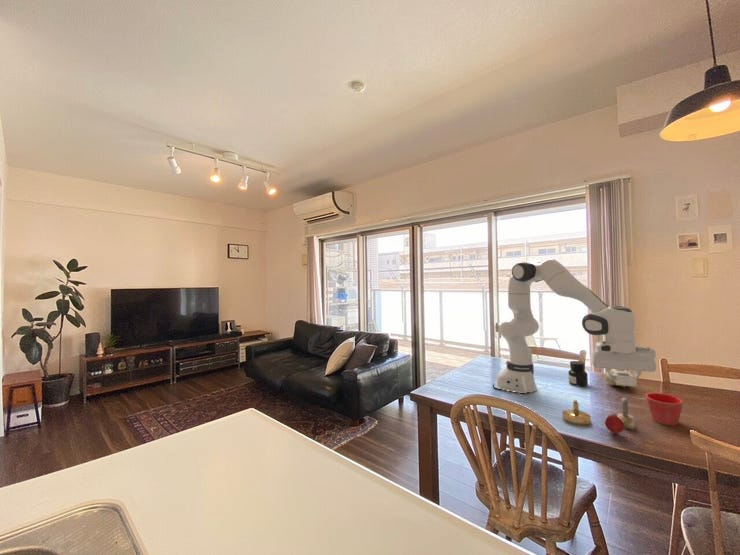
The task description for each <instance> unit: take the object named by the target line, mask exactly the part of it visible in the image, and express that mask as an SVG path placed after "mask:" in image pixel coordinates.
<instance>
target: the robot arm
mask: <svg viewBox="0 0 740 555" xmlns="http://www.w3.org/2000/svg"><path fill="white" fill-rule="evenodd" d="M511 268H512V269H511V275H510V276H509V280H508V287H507V293H508V294H507V300H508V301H507V303H508V304H507V305H508V308H509V310H511V311H512V313H513V318H510V319H507V320H505V321H503V322H501V323H500V325H499V333H500V335H501V337H503V339H504V340H505V341H506V343H507V345H508V349H509V360H508V359H507V360H506V361H505V364H506V368H505V369H503V370H501V371H500V372H498V374H497V376H496V380H497V382H495V383H496V387H498V388H500V389H504V390H509V391H515V392H519V393H518V394H520V393H525V394H528V393H527V392H529V393H534V392H536V391H538V387H537V385H536V380H535V377H534V376H535V373H534V372H535V367H534V363H533V353H532V352H533V351H532V348H531V347H530V346H529V345H528V344H527V341H526V337H530V336H533V335H534V334H536V333H537V332H538V331H539V329H540V324H539V322H538V321H537V319H536V318H534V315H533V311H532V308H531V285H532V283H534V282H535V283H538V282H541V281H544V282H545V283H546V285H547V286H548V287H549V288H550V290H551V291H552V292H554V294H556V295H557V296H560V297H566V298H571V299H574V300H577V301H578V302H581V303H582V304H583V305H584V306H586V307H587V308H588V309H589V311H591V313H588V314H586V315H584V316H583V317H582V319H581V325H582V329H583V330H584V331H585V332H586V333H587V334H589V335H590V336H591V335H593V336H602V335H603V336H607V340H603V341H598V342H597V341H596V342H595V343H594V348H595V349H594V350H593V351H592V355H591V364H592V366H593V367H594V368H597V369H605V371H606V373H607V372H608V374H609V378H610V379H612V380H615V376H614V374H611V373H610V372H609V371H611V369H621V370H624V371H635V374H634V375H633V376H634V377H635V378H636V383H638V382H639V378H640V376H641V375H642V372H651V373H655V371H657V364H656V359H655V358H656V351H655V350H654V349H653V348H651V347H644V346H643V347H642V346H637V340H636V339H637V338H636V337H635V331H636V322H635V321H636V320H635V317H634V316H635V315H634V313H633V310H631V309H630V308H628V307H627V306H621V305H609V306H608V305H607V304H606V303H605V302H604V300H602V299H601V298H599V297H598V296H597V294H596V293H595V292H593V291H592V290H591V289H590V288H588V287H587V286H586V285H584V284H583V283H582V282H580V281H579V280H578V279H577V278H576V277H575V276H574V275H573V274H572V273H571V272H570V271H569V269H567V268H566V266H564V265H563V264H562V263H561V262H559V261H558V260H556V259H554V258H548V259H544V260H533V259H532V260H526V261H519V262H516V263H515V264H513V266H512V267H511ZM509 391H508V392H509ZM533 391H534V392H533Z"/></svg>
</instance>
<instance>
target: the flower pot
mask: <svg viewBox="0 0 740 555" xmlns="http://www.w3.org/2000/svg"><path fill="white" fill-rule="evenodd" d="M645 398H646V402H647V406H648V409H649V412H650V415H651V418H652V420H653V421H654V422H656V423H659V424H661V425H662V424H663V425H666V426H677V425H678V424H679V422H680V417H681V413H682V408H683V403H684V402H683V400H682V399H680V398H679V397H676V396H674V395H672V394H671V395H670V394H666V393H659V392H649V393H646V394H645Z"/></svg>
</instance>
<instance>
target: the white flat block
mask: <svg viewBox="0 0 740 555" xmlns="http://www.w3.org/2000/svg"><path fill="white" fill-rule="evenodd" d="M611 374H614V376H615V380H614V381H615V382H616V384H617V385H625V386H627V387H637V386H638V385H637V382H636V378H635V377H634V376H635V375H633V373H631V371H627V370H624V371H613V370H611Z"/></svg>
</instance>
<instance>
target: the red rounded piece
mask: <svg viewBox="0 0 740 555" xmlns="http://www.w3.org/2000/svg"><path fill="white" fill-rule="evenodd" d="M604 424H605V427H606V429H607V430H609V432H611V433H613V434H614V435H618V434H620V433H622V432H624V430H625V428H624V423H623V422H622V420H621V419H620V418H618V415H617V414H616V413H612V414H611V415H609V416H607V417H606V418H605V421H604Z"/></svg>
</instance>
